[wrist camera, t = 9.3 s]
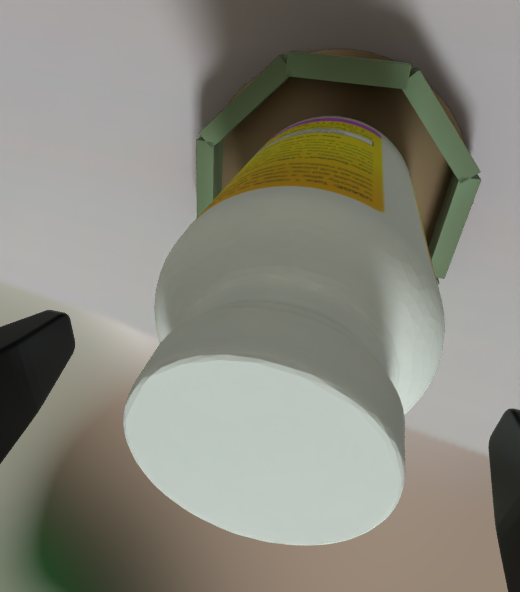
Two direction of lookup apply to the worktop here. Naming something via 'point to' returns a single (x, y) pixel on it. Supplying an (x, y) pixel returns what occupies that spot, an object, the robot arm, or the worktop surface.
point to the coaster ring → (360, 106)
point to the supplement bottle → (293, 342)
